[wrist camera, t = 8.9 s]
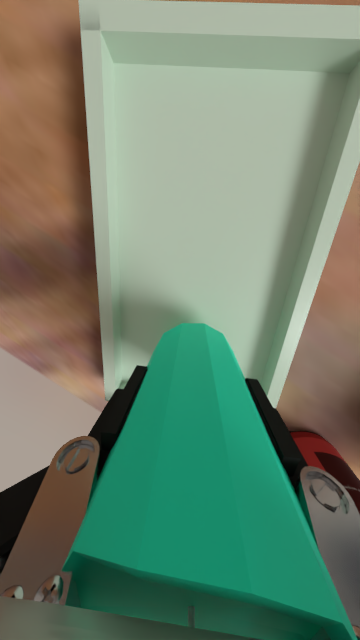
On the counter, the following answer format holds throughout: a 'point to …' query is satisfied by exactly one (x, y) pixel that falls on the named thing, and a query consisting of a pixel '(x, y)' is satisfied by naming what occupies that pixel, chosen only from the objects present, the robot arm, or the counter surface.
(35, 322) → the counter surface
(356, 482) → the canned food
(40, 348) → the counter surface
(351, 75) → the tray
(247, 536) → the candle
